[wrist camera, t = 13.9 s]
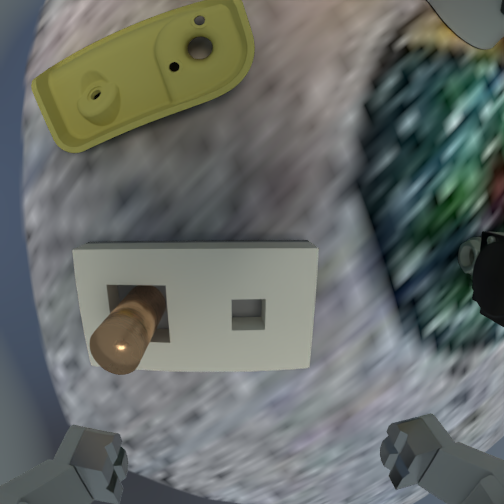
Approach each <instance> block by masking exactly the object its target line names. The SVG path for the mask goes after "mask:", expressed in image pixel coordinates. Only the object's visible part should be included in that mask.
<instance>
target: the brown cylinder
mask: <svg viewBox="0 0 504 504" xmlns="http://www.w3.org/2000/svg"><path fill="white" fill-rule="evenodd" d="M165 309H166V302H165V298H164V296H163V294H162V293H161V292H160V291H159V290H158V289H157V288H156V287H154V286H152V285H138V286H136V287H134V288H133V289H132V290H131V291H130V292H129V293H128V294H127V295H126V296H125V298H124V299H123V300H122V301H121V302H120V303H119V304H118V305H117V306H116V308H115V309H114V310H113V311H112V312H111V313H110V314H109V315H108V317H107V318H106V319H105V320H104V321H103V322H102V323H101V324H100V326H99V327H98V328H97V329H96V330H95V331H94V333H93V334H92V336H91V338H90V351H91V354H92V356H93V358H94V359H95V361H96V362H97V363H98V364H99V365H100V366H101V367H102V368H103V369H105V370H106V371H108V372H111V373H114V374H118V375H124V374H129V373H131V372H133V371H134V370H135V369H136V368H137V367H138V365H139V363H140V361H141V359H142V357H143V355H144V353H145V351H146V349H147V347H148V345H149V343H150V340H151V338H152V336H153V334H154V332H155V330H156V328H157V326H158V324H159V322H160V320H161V318H162V316H163V314H164V312H165Z"/></svg>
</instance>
